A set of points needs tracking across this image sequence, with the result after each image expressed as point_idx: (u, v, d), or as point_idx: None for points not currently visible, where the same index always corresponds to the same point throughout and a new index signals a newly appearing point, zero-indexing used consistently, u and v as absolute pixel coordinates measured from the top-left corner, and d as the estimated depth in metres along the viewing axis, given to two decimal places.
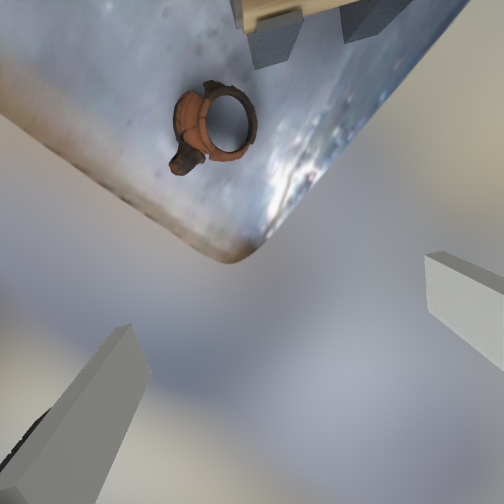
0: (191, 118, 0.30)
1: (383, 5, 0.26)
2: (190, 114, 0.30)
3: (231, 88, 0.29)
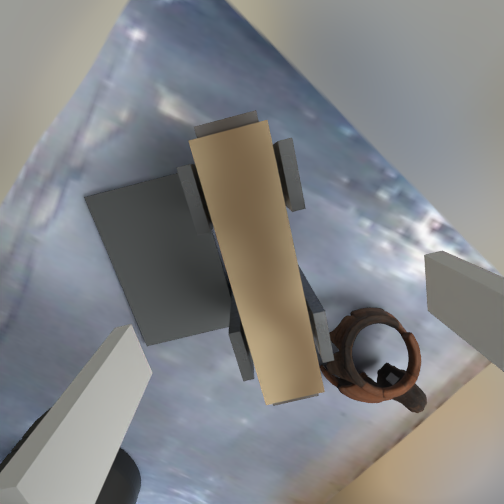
0: (376, 398, 0.26)
1: None
2: (371, 398, 0.26)
3: (346, 355, 0.25)
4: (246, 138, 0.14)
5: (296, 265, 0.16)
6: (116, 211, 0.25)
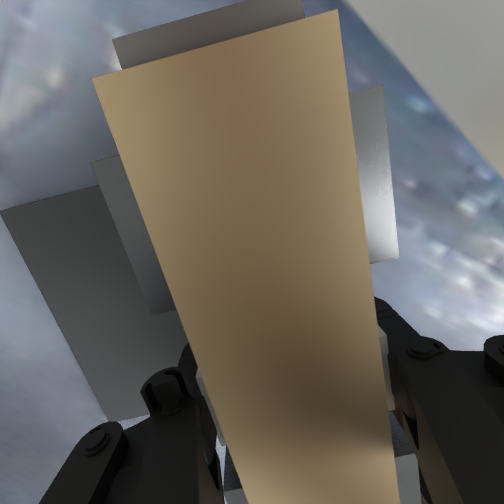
0: None
1: None
2: None
3: None
4: (271, 71, 0.05)
5: (383, 399, 0.07)
6: (50, 233, 0.16)
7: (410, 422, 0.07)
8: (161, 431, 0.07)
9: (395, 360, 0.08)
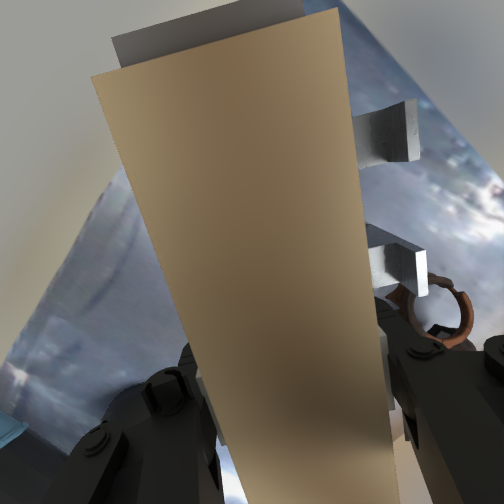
0: None
1: None
2: None
3: (409, 310, 0.29)
4: (271, 69, 0.05)
5: (383, 399, 0.07)
6: None
7: (410, 422, 0.07)
8: (161, 431, 0.07)
9: (395, 360, 0.08)
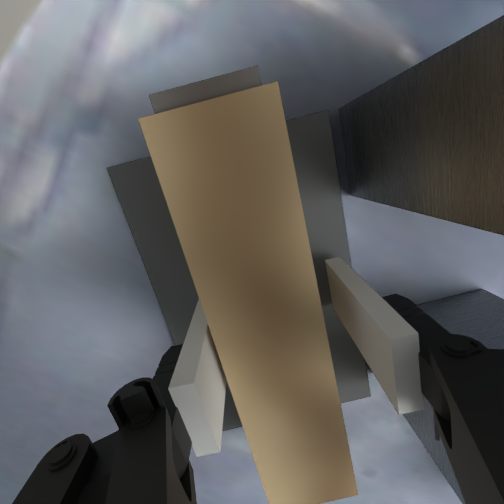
0: None
1: None
2: None
3: None
4: (241, 114, 0.08)
5: (322, 322, 0.10)
6: None
7: (442, 421, 0.07)
8: (130, 445, 0.07)
9: (428, 359, 0.07)
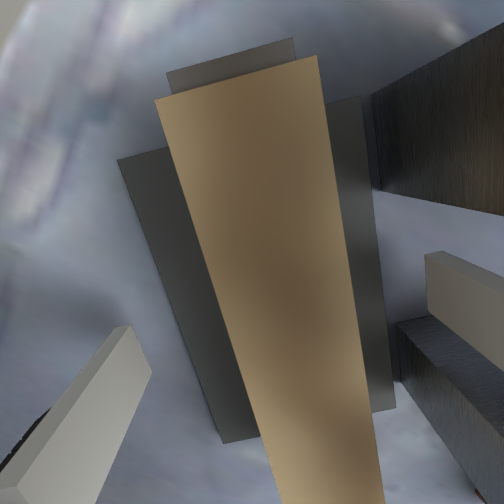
0: None
1: None
2: None
3: None
4: (273, 94, 0.07)
5: (356, 333, 0.09)
6: None
7: None
8: None
9: None
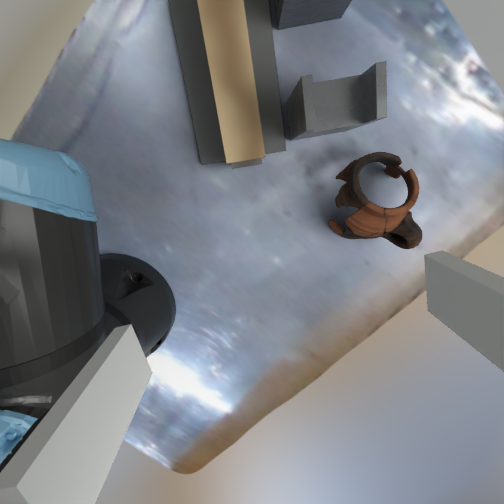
0: (377, 222, 0.29)
1: None
2: (373, 223, 0.30)
3: (353, 179, 0.29)
4: None
5: (249, 52, 0.26)
6: (193, 18, 0.29)
7: None
8: None
9: None
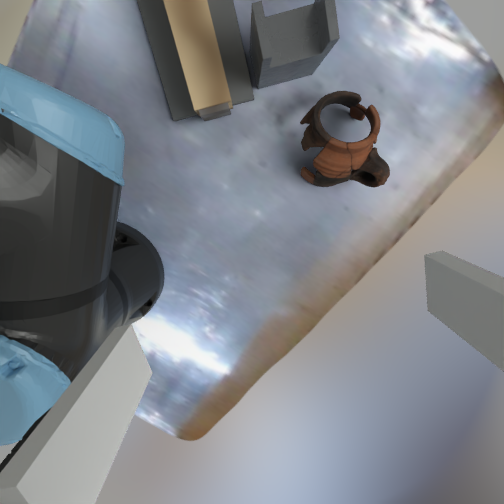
0: (343, 159, 0.30)
1: None
2: (339, 160, 0.30)
3: (315, 117, 0.29)
4: None
5: None
6: None
7: None
8: None
9: None
